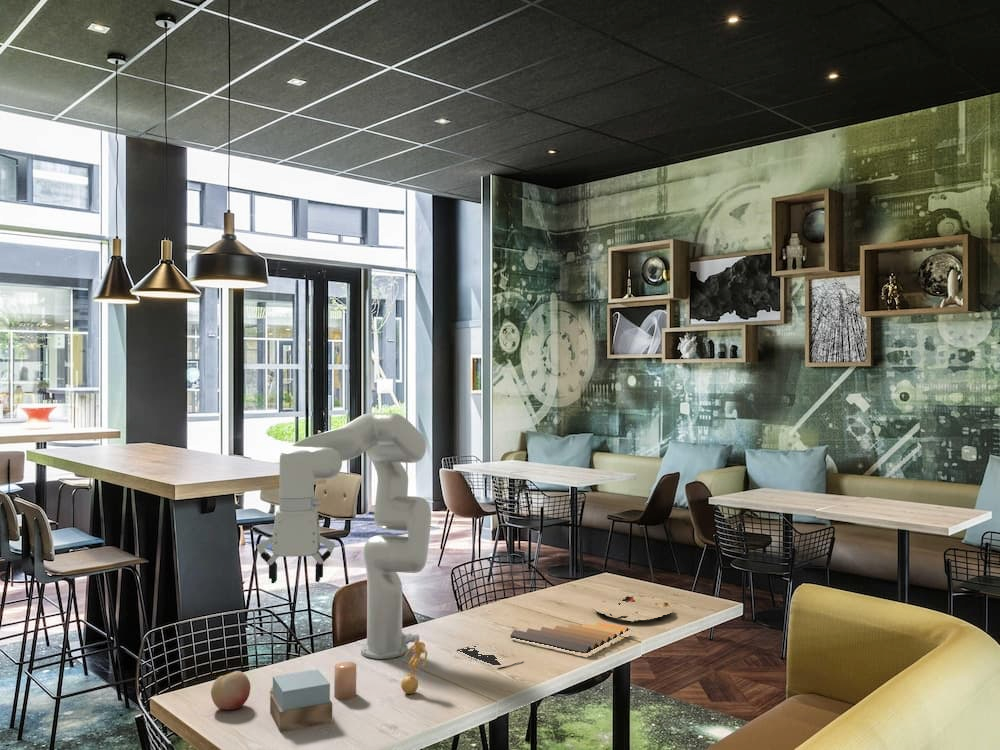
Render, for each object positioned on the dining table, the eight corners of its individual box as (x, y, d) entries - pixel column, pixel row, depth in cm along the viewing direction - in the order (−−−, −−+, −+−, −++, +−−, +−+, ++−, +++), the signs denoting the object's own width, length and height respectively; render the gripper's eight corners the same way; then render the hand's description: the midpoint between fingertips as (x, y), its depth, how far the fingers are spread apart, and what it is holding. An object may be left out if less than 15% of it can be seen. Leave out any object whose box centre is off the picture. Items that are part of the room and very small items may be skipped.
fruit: (229, 699, 183) (229, 664, 183) (257, 704, 180) (257, 669, 180) (203, 712, 175) (204, 675, 176) (232, 717, 172) (232, 680, 173)
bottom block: (319, 706, 180) (319, 686, 180) (332, 724, 170) (332, 703, 170) (270, 714, 175) (270, 694, 175) (279, 734, 165) (280, 712, 165)
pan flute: (510, 642, 226) (585, 660, 211) (510, 630, 226) (585, 647, 211) (557, 622, 246) (630, 637, 231) (557, 611, 246) (630, 626, 231)
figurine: (393, 690, 189) (393, 639, 189) (414, 684, 192) (414, 634, 193) (412, 700, 182) (412, 648, 182) (433, 694, 186) (434, 642, 186)
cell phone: (481, 646, 222) (481, 643, 222) (523, 663, 209) (523, 659, 209) (456, 653, 217) (456, 649, 217) (497, 670, 203) (497, 667, 203)
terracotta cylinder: (352, 690, 188) (352, 660, 189) (358, 697, 184) (358, 667, 184) (331, 693, 186) (332, 663, 186) (337, 701, 182) (337, 670, 182)
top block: (317, 687, 179) (317, 669, 180) (329, 702, 171) (329, 683, 171) (272, 694, 175) (272, 676, 175) (282, 710, 166) (282, 691, 166)
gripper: (337, 502, 183) (336, 576, 183) (260, 503, 182) (259, 578, 181) (334, 506, 176) (333, 584, 176) (253, 508, 174) (253, 586, 174)
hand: (296, 581), depth 178 cm, fingers open, 9 cm apart
